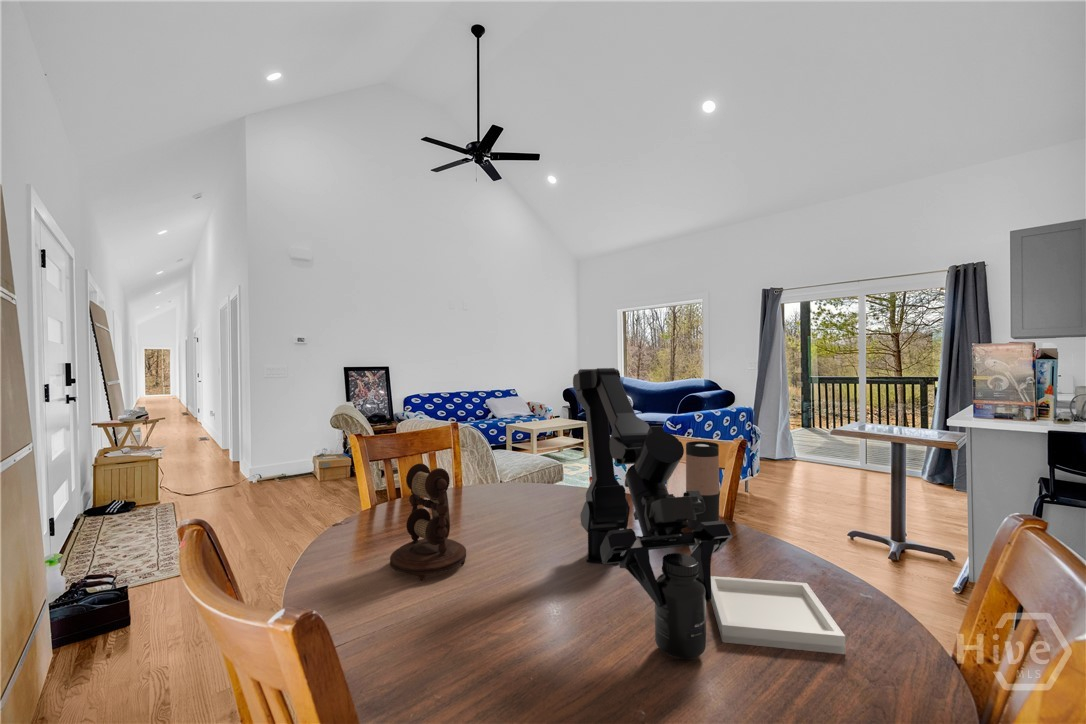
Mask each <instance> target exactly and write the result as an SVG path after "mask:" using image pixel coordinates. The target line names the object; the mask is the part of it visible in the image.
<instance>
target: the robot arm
mask: <svg viewBox="0 0 1086 724" xmlns="http://www.w3.org/2000/svg"><path fill="white" fill-rule="evenodd" d="M620 373H621V372H620V370H619V369H617V368H614V367H609V368H608V367H606V368H605V367H603V368H601V367H600V368H598V367H597V368H584V369H583V368H580V369H578V372H576V373H575V374H573V377H572V378H573V379H572V387H573V390H574V391H575V395H576V400H577V401H578V403H579V404H580V406H581V407H582V408H583V410H584V411H585V416H586V417H585V418H586V420H585V421H586V429H587V438H588V448H589V459H590V470H591V481H590V484H589V486H588V488H587V490H586V492H585V502H584V505H583V506H582V509H581V512H580V514H579V515H580V525H581V526H582V527H583V530H585V531H586V533H587V557H586V562H588V563H599V564H600V563H601V564H604V565H612V564H613V565H614V564H615V565H618V566H619V568H620V569H626V570H627V571H628V572H629V574H631V576H632V577H633V578H634V579H635V580H636V581H637V582H638V583H639V584H640V585H641V587H642V588H643V589H644V591H645V592H646V593H647V594H648V596H649V597H650V598H651V600H652V601H653V602H654V605H655V604H656V605H657V606H658V607H662V606H663V601H662V597H661V593H660V590H659V587H658V584H657V581H656V579H657V578H656V576H655V573H654V571H653V567H652V565H651V564H652V563H651V559H650V551H652V550H653V551H654V550H661V549H670V548H671V549H672V548H682V547H683V548H684V547H688V549H689V550H690V554H689V555H690V556H692V557H694V558H696V559H697V561H698V570H699V576H698V578H699V579H700V580H701V581H702V582H703V583H704V585H705V588H706V602H711V598H712V595H711V576H712V575H711V574H712V573H711V565H712V555H713V554H716V553H718V552H720V551H721V550H722V549H723V548H724V547H725V546H726V545H727V544H728V543H729V541H731V539H732V538H733V534H732V532H731V529H730V527H729V526H728V525H727V523H726V522H724V521H722V520H719V521H711V522H701V523H700V524H699V525H698V526H697V528H696V529H695V530H693V531H686V532H684V531H683V529H686V528H687V527H688V522H687V520H696V515H695V514H700V513H704V512H705V504H704V500H703V498H702V496H701V494H700V492H699V490H694V491H688V492H686V491H685V492H684V493H683V496H675V495H674V494H673V493H672V494H671V493H670V494H669V492H668V488H667V485H666V482H667V481H668V480H669V479H670V478H671V477H672V475H673V473H674V472H675V470H676V468H677V466H678V465H679V463H680V462H681V460H682V458H683V456H684V453H685V452H684V451H685V449H684V445H683V443H682V442H681V441H680V440H679V439H678V438H677V437H676V436H675V435H673V434H672V433H670V432H667V431H665V429H664V427H663V426H662V425H651V426H650V425H649V424H648V423H647V422H646V421H645V420H644V419H642V418H640V417H638V416H637V415H636V412H635V410H634V408H633V406H632V403H631V401H630V400H629V397H628V395H627V392H626V390H625V388H624V386H623V383H622V381H621V374H620ZM610 427H611V430H612V431H610ZM614 462H615V463H616V464H617V465H622V466H623V465H630V467H628V469H627V471H626V473H625V476H624V477H625V479H624V485H622V484H620V483H619V481H618V480H617V477H616V476H615V467H614ZM625 487H626V488H628V489H629V493H630V496H631V500H632V504H633V507H634V513H633V517H634V520H635V521H638V524H639V526H640V530H641V534H642V536H639V535H636V532H635V531H634V530H633V528H628V524H629V517H630V509H631V507H630V505H629V502H628V500H627V497H626V488H625Z"/></svg>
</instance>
